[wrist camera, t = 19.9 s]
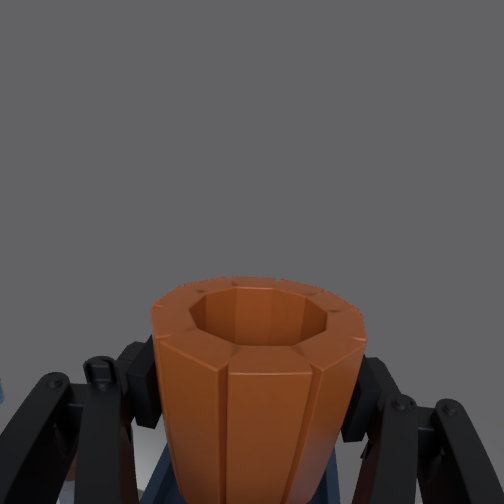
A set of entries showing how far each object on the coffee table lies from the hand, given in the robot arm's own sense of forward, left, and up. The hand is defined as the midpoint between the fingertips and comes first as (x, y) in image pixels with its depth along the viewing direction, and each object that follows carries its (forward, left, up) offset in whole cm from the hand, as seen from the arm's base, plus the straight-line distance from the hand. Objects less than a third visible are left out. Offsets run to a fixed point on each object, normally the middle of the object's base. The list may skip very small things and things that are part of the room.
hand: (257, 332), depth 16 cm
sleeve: (-2, -5, -5) cm, 7 cm away
